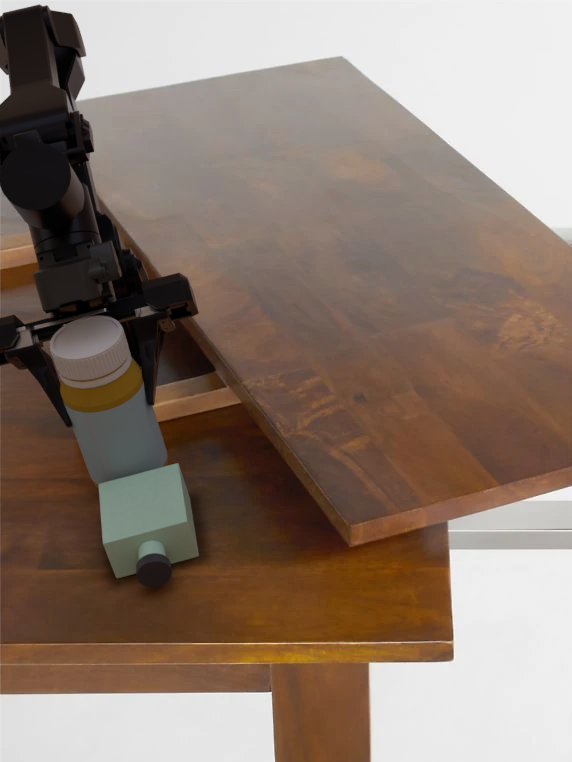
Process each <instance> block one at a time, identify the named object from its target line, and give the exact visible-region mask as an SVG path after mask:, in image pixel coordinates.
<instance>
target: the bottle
mask: <svg viewBox="0 0 572 762" xmlns="http://www.w3.org/2000/svg"><path fill="white" fill-rule="evenodd" d="M49 351H50V355H51V358H52V361H53V364H54V366H55V369H56V371H57V372H58V373H57V374H58V377H59V380H60V384H61V385H60V393H61V396H62V399H63V403H64V405H65V408H66V410H67V413H68V415H69V418H70V421H71V424H72V427H71V428H72V430H73V433H74V436H75V439H76V441H77V444H78V447H79V450H80V452H81V456H82V458H83V461H84V464H85V467H86V470H87V472H88V475H89V477H90V479H91V481H92V483H93V485H94V487H96V488H97V489H99V486H98V485H99V484H101V483H104V482H108V481H112V480H116V479H119V478H123V477H127V476H131V475H134V474H138V473H142V472H146V471H150V470H153V469H157V468H161V467H165V466H168V465H169V455H168V450H167V447H166V444H165V441H164V437H163V434H162V431H161V428H160V425H159V422H158V419H157V415H156V411H155V409H154V405H153V406H150V405H149V404H148V401H147V397H146V393H145V389H144V382H143V376H142V368H141V366H140V364H139V365H138V364H137V362H136V361H135V360H134V359H133V358H132V357H131V354H130V350H129V346H128V343H127V339H126V336H125V333H124V330H123V327H122V325H121V324H120V323H119V322H118V321H117V320H116V319H114V318H111V317H108V316H89V317H84V318H80V319H77V320H75V321H72V322H70V323H68V324H64V325H63V327H62V328H60V329H59V330H58V331H57V332H56V333H55V334H54V335H53V337H52V338H51V340H50V341H49Z"/></svg>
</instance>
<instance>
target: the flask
mask: <svg viewBox="0 0 572 762" xmlns="http://www.w3.org/2000/svg"><path fill="white" fill-rule="evenodd" d="M98 486H99V488H98V497H99V510H100V525H101V537H102V545H103V548H104V550H105V553H106V556H107V558H108V561H109V563H110V566H111V568H112V571H113V574H114V576H115V578H116V579H120V578H121V579H122V578H125V577H129V576H131V575H135V574H136V579H137V582H138V583H140V585H142V586H144V587H146V588H159V587H162V586H164V585H166V584H167V583H168V582H169V581H170V580H171V578H172V576H173V569H172V565H173V564H176V563H179V562H184V561H187V560H192V559H195V558H198V557H200V554H199V546H198V541H197V535H196V527H195V522H194V515H193V509H192V503H191V497H190V495H189V494H190V493H189V492H188V488H187V485H186V482H185V479H184V475H183V473H182V469H181V467H180V464H179V463H178V462H177V463H173V464H168V465H167V466H165V467H161V468H157V469H153V470H150V471H146V472H142V473H138V474H134V475H131V476H127V477H123V478H119V479H116V480H112V481H108V482H104V483H101V484H99V485H98Z"/></svg>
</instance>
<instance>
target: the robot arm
mask: <svg viewBox="0 0 572 762" xmlns="http://www.w3.org/2000/svg"><path fill="white" fill-rule="evenodd" d="M86 51H87V50H86V48H85V43H84V39H83V36H82V32H81V30H80V27H79V24H78V22H77V20H76V19H75V17H74V15H73V13H71V12H65V11H59V10H52V9H50V6H49V5H42V4H40V3H39V4H35V5H31V6H27V7H22V8H18V9H14V10H9V11H5V12H3V13H2V15H0V70H1V71H2V72H3V73H4V74H5V75H6V76H8V81H9V93H10V94H9V95H8V96H7V97H6V98H5V99H4V100H3V101H2V102H1V103H0V189H1V191H2V194H3V195H4V196H5V198H6V199H7V200H8V202H9V203H10V204H11V206H12V207H13V208H14V209H15V211H16V212H17V213H18V214H19V215H20V217H21V218H22V219H23V221H24V222H25V223H26V224H27V226H28V230H29V233H30V238H31V241H32V246H33V249H34V255H35V258H36V262H37V266H38V269H37V270H36V271H34V272H33V273H32V277H33V281H34V285H35V287H36V291H37V294H38V297H39V301H40V305H41V308H42V311H43V312H44V313H45V314H49V315H50V317H47V318H44V319H40V320H39V319H38V320H36V321H31V322H28V323H24V322H23V321H22V320H21V319H20V318H19V317H18V316H16V315H15V314H11V315H7V316H3V317H0V367H2V366H5V365H10V364H11V365H13V367H15V368H16V369H17V370H19V371H22V370H28V372H29V373H30V374H31V375H32V376H33V378H34V379H35V380H36V381H37V382H38V384H39V385H40V387H41V388H42V390H43V391H44V393H45V395H46V396H47V398H48V400H49V401H50V403H51V404H52V405H53V408H54V409H55V411H56V412H57V414H58V415H59V417H60V419H61V420H62V422H63V423H64V426H65V427H67V428H70V429H71V428H72V424H71V421H70V418H69V415H68V413H67V410H66V408H65V405H64V403H63V399H62V396H61V393H60V385H61V380H60V377H59V374H58V373H57V372H58V371H57V368H56V365H55V363H54V360H53V357H52V355H50V354H48V353H47V351H46V350H44V349H43V348H44V347H45V346H44V343H45V342H50V341H51V338H52V337H53V335H54V334H55V333H56V332H57V331H58V330H59V329H60V328H62V327H63V326H64V325H66V324H68V323H70V322H72V321H75V320H77V319H80V318H84V317H89V316H108V317H111V318H114V319H116V320H117V321H118V322H119V323H120V324H121V325H122V327H123V330H124V333H125V336H126V339H127V343H128V346H129V350H130V354H131V357H132V358H133V359H134V360H135V361H136V362H137V364H138V365H139V366H140V368H141V371H142V376H143V382H144V389H145V393H146V397H147V401H148V404H149V405H150V406H153V407H154V406H155V405H156V404H155V403H156V392H157V383H158V373H159V365H160V364H159V363H160V357H161V354H162V349H163V345H164V341H165V337H166V335H167V334H168V333H171V332H174V331H175V330H176V325H175V323H174V322H176V321H180V320H184V319H189V318H192V317H195V316H197V315H199V314H200V311H199V308H198V305H197V300H196V297H195V294H194V290H193V287H192V285H191V282H190V279H189V277H187V276H186V275H184V274H183V273H181V272H177V273H172V274H168V275H164V276H160V277H156V278H153V279H150V277H149V275H148V272H147V269H146V268H145V265H144V263H143V261H142V259H140V258H138V257H137V256H136V254H135V253H134V251H133V249H132V248H131V246H130V247H129V246H128V247H126V246H125V244H124V241H123V239H122V237H121V234H120V231H119V230H118V228H117V226H116V225H115V224H114V223H113V222H112V220H111V218H110V217H109V216H108V215H107V214H106V213H101V207H100V202H99V198H98V195H97V190H96V186H95V181H94V176H93V172H92V169H91V164H90V157H91V153H94V152H95V143H94V134H93V129H92V125H91V123H90V121H88V120H86V118H85V117H84V113H81V111H80V110H78V109H77V108H78V107H77V103H76V101H77V100H78V99H77V98H78V96H79V94H80V92H81V90H82V88H83V86H84V84H85V82H86V74H85V69H84V66H83V61H82V58H86V57H87V52H86Z"/></svg>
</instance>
